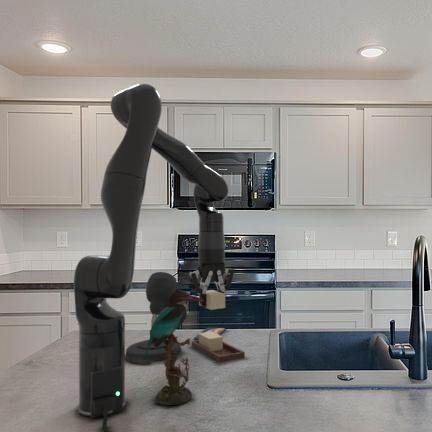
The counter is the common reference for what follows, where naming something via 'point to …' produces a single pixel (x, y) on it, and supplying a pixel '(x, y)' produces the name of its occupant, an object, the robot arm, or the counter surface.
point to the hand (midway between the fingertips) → (212, 305)
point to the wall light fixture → (158, 297)
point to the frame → (220, 352)
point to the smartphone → (215, 330)
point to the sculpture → (160, 333)
